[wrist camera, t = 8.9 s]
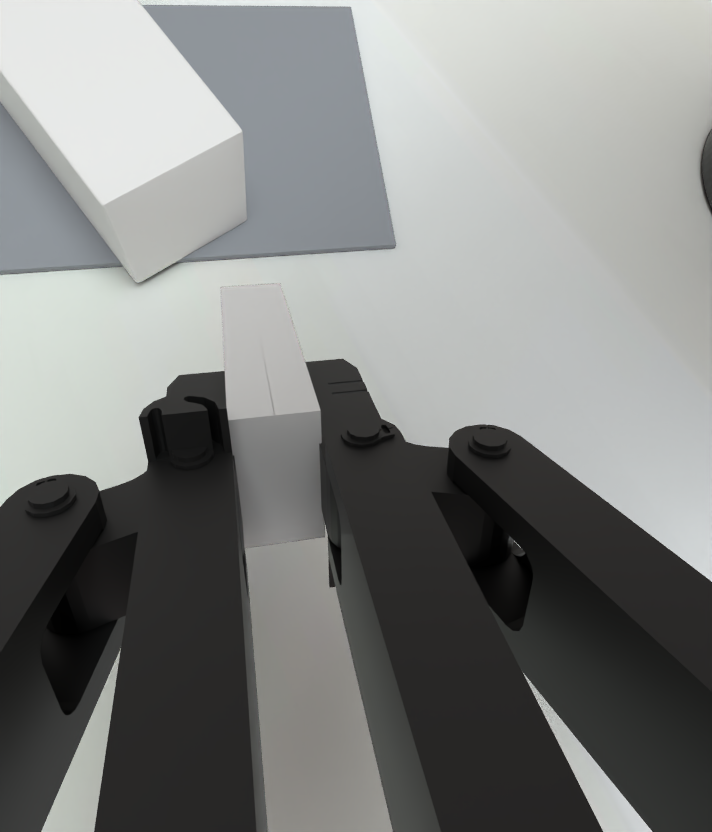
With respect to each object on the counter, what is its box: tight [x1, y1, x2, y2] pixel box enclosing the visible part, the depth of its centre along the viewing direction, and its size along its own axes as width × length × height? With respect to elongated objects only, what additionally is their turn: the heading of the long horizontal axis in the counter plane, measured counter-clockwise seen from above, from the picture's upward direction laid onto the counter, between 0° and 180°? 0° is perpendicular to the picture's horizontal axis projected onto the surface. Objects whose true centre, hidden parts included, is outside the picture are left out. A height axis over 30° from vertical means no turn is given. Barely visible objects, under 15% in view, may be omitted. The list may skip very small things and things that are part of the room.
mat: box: [0, 5, 396, 274], centre depth 35 cm, size 22×17×1 cm
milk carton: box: [0, 0, 247, 283], centre depth 30 cm, size 7×7×19 cm
